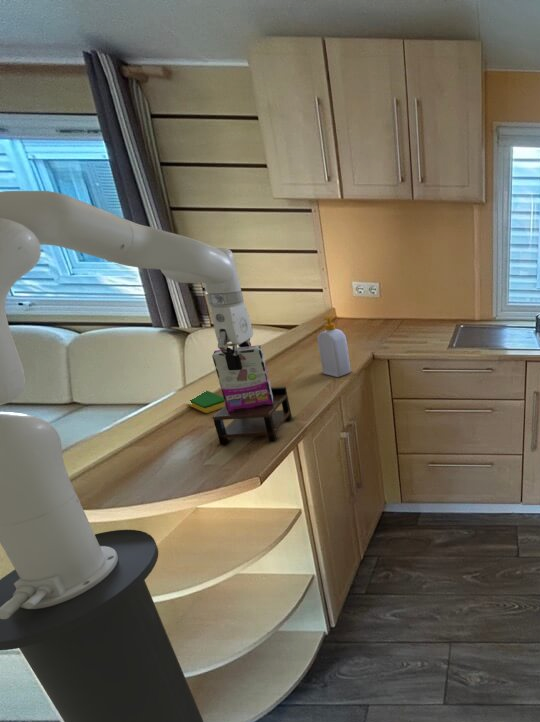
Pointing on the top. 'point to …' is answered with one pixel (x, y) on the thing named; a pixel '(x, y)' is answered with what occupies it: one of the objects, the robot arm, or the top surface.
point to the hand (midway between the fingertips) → (241, 364)
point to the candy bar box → (244, 379)
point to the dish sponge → (208, 402)
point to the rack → (254, 419)
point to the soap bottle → (333, 350)
